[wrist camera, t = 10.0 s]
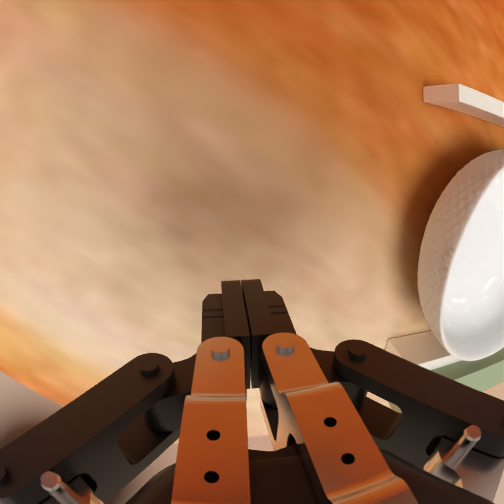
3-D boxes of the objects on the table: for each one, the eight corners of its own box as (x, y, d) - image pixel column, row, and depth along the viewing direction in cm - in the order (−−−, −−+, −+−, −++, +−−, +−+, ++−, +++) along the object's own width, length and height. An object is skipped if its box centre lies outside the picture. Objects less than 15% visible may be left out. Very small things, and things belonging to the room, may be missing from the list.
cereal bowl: (445, 99, 18) (513, 100, 12) (531, 196, 23) (579, 216, 16) (353, 292, 23) (397, 347, 17) (462, 333, 28) (500, 371, 21)
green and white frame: (423, 86, 18) (480, 82, 12) (534, 129, 20) (577, 138, 14) (375, 380, 28) (400, 423, 22) (484, 349, 30) (511, 377, 24)
